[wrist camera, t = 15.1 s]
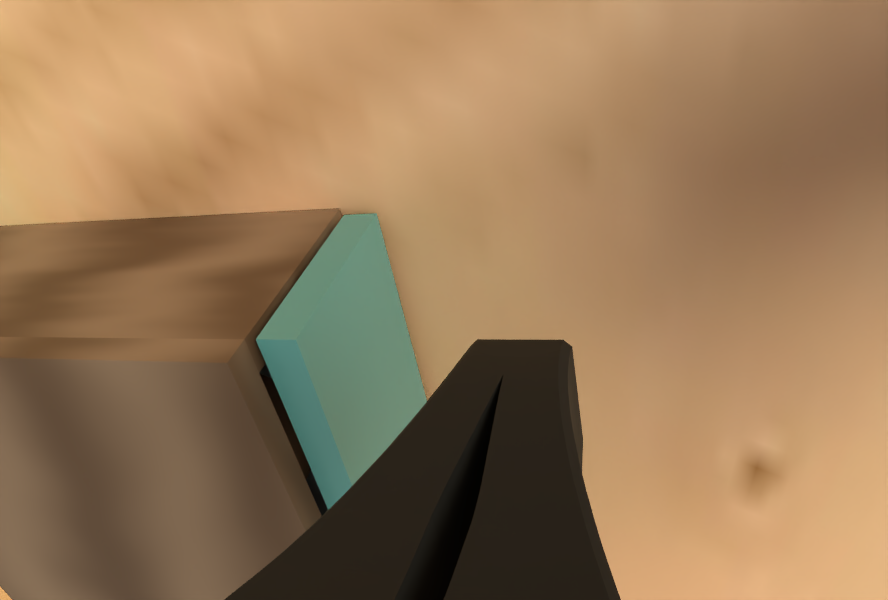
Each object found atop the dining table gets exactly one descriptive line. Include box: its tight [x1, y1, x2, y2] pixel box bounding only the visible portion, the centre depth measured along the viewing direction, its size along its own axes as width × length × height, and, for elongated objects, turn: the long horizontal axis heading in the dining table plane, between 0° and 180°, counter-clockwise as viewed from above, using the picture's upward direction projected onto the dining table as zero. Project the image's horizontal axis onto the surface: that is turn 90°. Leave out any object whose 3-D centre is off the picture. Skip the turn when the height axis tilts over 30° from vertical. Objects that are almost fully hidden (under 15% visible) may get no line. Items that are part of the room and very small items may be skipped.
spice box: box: [0, 209, 342, 600], centre depth 24 cm, size 14×16×7 cm
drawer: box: [256, 213, 427, 516], centre depth 24 cm, size 14×16×6 cm
